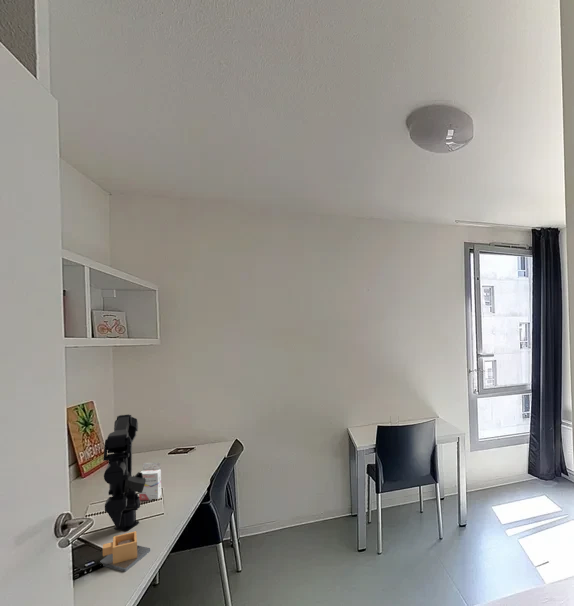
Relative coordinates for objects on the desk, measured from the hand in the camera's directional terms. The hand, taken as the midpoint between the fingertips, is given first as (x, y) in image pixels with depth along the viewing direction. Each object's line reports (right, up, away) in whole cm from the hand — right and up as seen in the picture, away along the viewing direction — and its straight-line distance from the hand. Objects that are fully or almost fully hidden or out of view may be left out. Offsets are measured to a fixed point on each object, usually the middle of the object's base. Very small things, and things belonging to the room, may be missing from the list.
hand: (119, 519), depth 127 cm
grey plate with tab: (+3, -12, -2) cm, 12 cm away
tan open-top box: (+2, -11, -3) cm, 11 cm away
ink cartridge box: (-5, -15, +41) cm, 44 cm away
